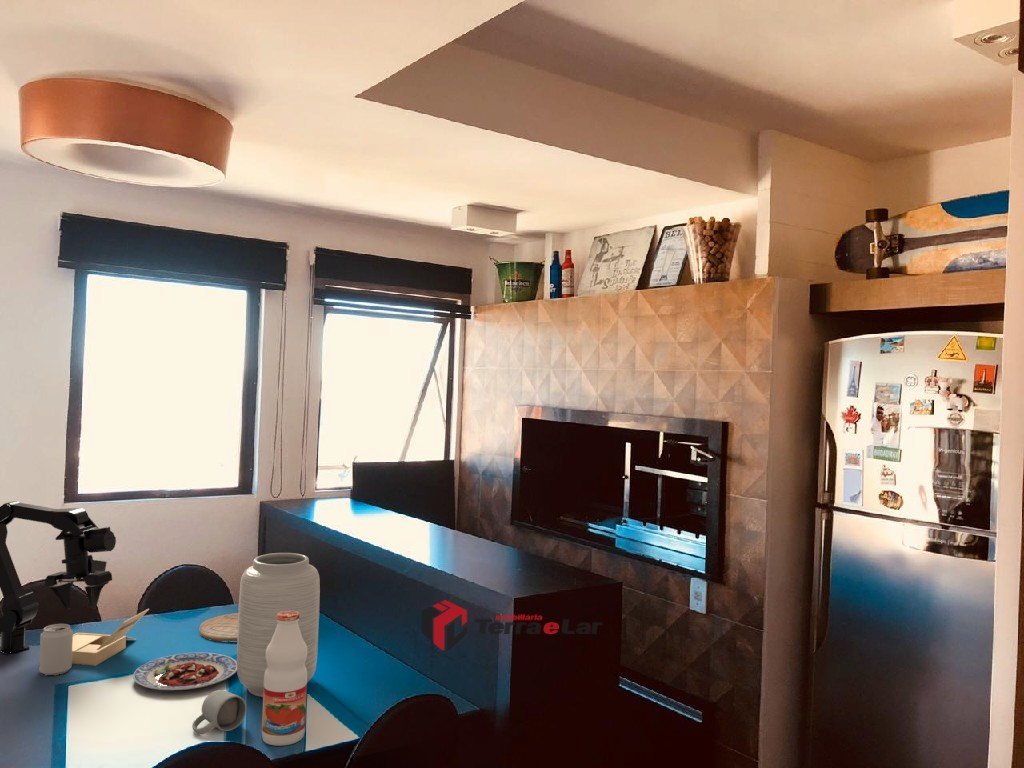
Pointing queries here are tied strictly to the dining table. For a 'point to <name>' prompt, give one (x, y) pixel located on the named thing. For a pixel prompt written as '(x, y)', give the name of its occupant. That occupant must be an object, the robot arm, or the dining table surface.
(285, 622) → the fruit juice
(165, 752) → the dining table surface
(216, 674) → the ceramic plate
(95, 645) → the carton
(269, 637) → the vase
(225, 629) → the trivet
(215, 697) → the ceramic mug
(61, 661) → the can
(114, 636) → the flap
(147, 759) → the dining table surface
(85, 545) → the robot arm
